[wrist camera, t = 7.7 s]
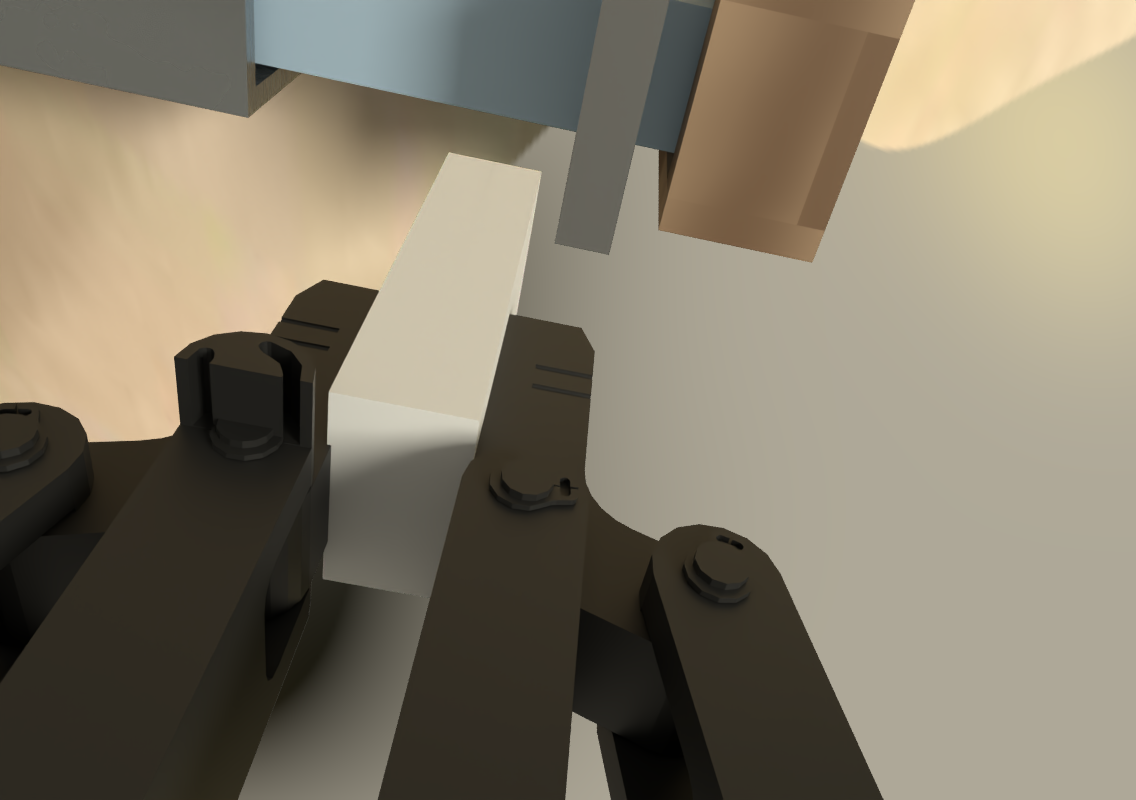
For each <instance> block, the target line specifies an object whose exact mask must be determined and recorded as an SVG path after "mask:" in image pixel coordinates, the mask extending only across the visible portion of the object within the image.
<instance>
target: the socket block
mask: <svg viewBox="0 0 1136 800" xmlns="http://www.w3.org/2000/svg"><path fill="white" fill-rule="evenodd" d="M914 2H915V0H715V2H714V6H713V9H712V13H711V17H710V21H709V24H708V28H707V32H706V36H705V39H704V43H703V47H702V51H701V54H700V58H699V62H698V66H697V69H696V73H695V77H694V81H693V84H692V88H691V92H690V96H689V99H688V103H687V107H686V111H685V114H684V118H683V122H682V126H681V129H680V133H679V137H678V141H677V144H676V148H675V152H674V153H671V152H667V151H662V150H659V230H661V231H665V232H670V233H675V234H679V235H684V236H689V237H694V238H698V239H703V240H708V241H713V242H717V243H722V244H727V245H732V246H736V247H741V248H746V249H750V250H755V251H760V252H765V253H769V254H774V255H779V256H783V257H788V258H793V259H798V260H802V261H807V262H812V261H813V259H814V257H815V254H816V252H817V249H818V246H819V244H820V241H821V239H822V236H823V234H824V231H825V229H826V226H827V224H828V221H829V218H830V216H831V213H832V211H833V208H834V206H835V203H836V201H837V198H838V195H839V193H840V190H841V188H842V185H843V183H844V180H845V178H846V175H847V172H848V170H849V167H850V165H851V162H852V159H853V157H854V155H855V152H856V150H857V147H858V144H859V142H860V139H861V137H862V134H863V132H864V129H865V127H866V124H867V121H868V119H869V116H870V114H871V111H872V109H873V106H874V104H875V101H876V99H877V96H878V93H879V91H880V88H881V86H882V83H883V81H884V78H885V76H886V73H887V70H888V68H889V65H890V63H891V60H892V58H893V55H894V53H895V50H896V48H897V45H898V42H899V40H900V37H901V35H902V32H903V30H904V27H905V25H906V22H907V19H908V17H909V14H910V12H911V9H912V7H913V4H914Z"/></svg>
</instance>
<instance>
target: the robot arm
mask: <svg viewBox="0 0 1136 800" xmlns="http://www.w3.org/2000/svg"><path fill="white" fill-rule="evenodd" d="M541 173H542V172H541V171H537V170H532V169H527V168H522V167H517V166H513V165H508V164H503V163H498V162H493V161H488V160H484V159H479V158H474V157H469V156H464V155H459V154H455V153H450V152H449V153H448V155H447V157H446V159H445V161H444V163H443V165H442V167H441V169H440V171H439V173H438V175H437V177H436V179H435V181H434V183H433V185H432V187H431V189H430V191H429V193H428V195H427V197H426V199H425V201H424V203H423V205H422V207H421V209H420V211H419V213H418V215H417V217H416V219H415V221H414V223H413V225H412V227H411V229H410V231H409V233H408V235H407V237H406V239H405V241H404V243H403V245H402V247H401V249H400V251H399V253H398V255H397V257H396V259H395V261H394V263H393V265H392V267H391V269H390V271H389V273H388V275H387V277H386V279H385V281H384V283H383V285H382V287H381V289H380V291H378V290H373V289H368V288H363V287H358V286H353V285H348V284H343V283H338V282H333V281H328V280H322V281H321V282H319V283H317V284H315V285H314V286H312V287H310V288H308V289H307V290H305V291H303V292H301V293H300V294H298V295H296V296H295V298H294V299H293V301H292V302H291V304H290V305H289V307H288V308H287V310H286V312H285V313H284V315H283V316H282V320H281V322H278V324H277V325H276V327H275V328H274V330H273V331H272V333H271V334H266V333H254V332H242V331H240V332H232V333H224V334H216V335H212V336H209V337H207V338H204V339H201V340H199V341H196V342H193V343H190V344H189V345H188V346H187V347H186V348H184V349H183V350H182V351H181V352H179V353H178V354H177V355H176V356H174V361H175V372H176V382H177V393H178V404H179V414H180V425H179V427H178V428H177V430H176V431H175V433H174V434H173V436H169V437H165V438H161V439H151V440H141V441H115V442H88V439H87V434H86V432H85V430H84V428H83V426H82V425H81V423H80V421H79V419H78V418H76V417H75V416H73V415H71V414H70V413H68V412H66V411H65V410H63V409H61V408H58V407H54V406H49V405H45V404H40V403H35V402H28V403H2V404H0V800H238V798H239V795H240V792H241V790H242V787H243V785H244V782H245V779H246V777H247V774H248V772H249V769H250V767H251V764H252V762H253V759H254V756H255V754H256V751H257V748H258V746H259V744H260V741H261V738H262V736H263V733H264V731H265V728H266V726H267V723H268V720H269V718H270V715H271V713H272V710H273V707H274V705H275V702H276V700H277V697H278V695H279V692H280V690H281V687H282V684H283V682H284V679H285V677H286V674H287V672H288V669H289V666H290V664H291V661H292V658H293V656H294V653H295V651H296V648H297V646H298V643H299V641H300V638H301V636H302V633H303V630H304V628H305V625H306V622H307V620H308V617H309V610H310V603H311V582H312V579H313V576H314V574H315V572H316V569H317V567H318V564H319V562H320V559H321V557H322V554H323V552H324V555H323V556H324V557H323V558H324V559H323V579H327V580H332V581H338V582H343V583H349V584H355V585H360V586H366V587H371V588H376V589H382V590H388V591H394V592H399V593H404V594H410V595H416V596H421V597H427V598H430V601H429V605H428V608H427V612H426V616H425V620H424V624H423V628H422V632H421V635H420V639H419V643H418V647H417V651H416V655H415V659H414V662H413V666H412V670H411V674H410V678H409V682H408V685H407V689H406V693H405V697H404V701H403V705H402V708H401V712H400V716H399V720H398V724H397V728H396V732H395V735H394V739H393V743H392V747H391V751H390V755H389V759H388V763H387V766H386V770H385V774H384V778H383V782H382V786H381V789H380V793H379V797H378V800H565V794H566V782H567V770H568V757H569V744H570V732H571V718H572V711H573V712H575V713H577V714H578V715H580V716H582V717H584V718H586V719H588V720H590V721H592V722H594V723H596V724H597V735H598V739H599V744H600V749H601V754H602V758H603V763H604V768H605V773H606V777H607V782H608V787H609V792H610V797H611V800H883V798H882V796H881V793H880V791H879V789H878V787H877V785H876V782H875V780H874V778H873V776H872V774H871V772H870V769H869V767H868V765H867V763H866V760H865V758H864V756H863V754H862V752H861V749H860V747H859V746H858V743H857V741H856V739H855V736H854V734H853V732H852V730H851V728H850V726H849V723H848V721H847V719H846V717H845V714H844V712H843V710H842V708H841V706H840V703H839V701H838V699H837V697H836V695H835V692H834V690H833V688H832V686H831V684H830V682H829V679H828V677H827V675H826V673H825V671H824V668H823V666H822V664H821V662H820V660H819V657H818V655H817V653H816V651H815V649H814V647H813V644H812V642H811V640H810V638H809V636H808V633H807V631H806V629H805V627H804V625H803V622H802V620H801V618H800V616H799V614H798V611H797V610H796V607H795V605H794V603H793V600H792V598H791V596H790V594H789V592H788V589H787V587H786V585H785V583H784V581H783V578H782V576H781V574H780V573H779V571H778V570H777V568H776V567H775V566H774V564H773V562H772V561H771V560H770V558H769V557H768V555H767V554H766V553H765V552H763V551H762V550H761V549H759V548H758V547H757V546H756V545H755V544H753V543H752V542H751V541H750V540H748V539H747V538H745V537H742V536H740V535H738V534H735V533H733V532H731V531H729V530H726V529H724V528H719V527H713V526H707V525H700V524H698V525H691V526H684V527H678V528H676V529H674V530H672V531H671V532H669V533H668V534H666V535H665V536H663V537H661V538H660V540H659V541H657V540H655V539H653V538H650V537H648V536H646V535H644V534H641V533H639V532H637V531H635V530H632V529H631V528H629V527H627V526H625V525H624V524H622V523H620V522H618V521H616V520H615V519H614V518H612V517H611V516H610V515H609V514H608V513H606V512H605V511H604V510H603V509H601V507H600V506H599V505H598V503H597V502H596V501H595V500H594V499H593V497H592V496H591V494H590V492H589V489H588V487H587V485H586V480H585V459H586V447H587V434H588V423H589V412H590V396H591V388H592V375H593V364H594V350H593V348H592V346H591V344H590V343H589V341H588V339H587V337H586V336H585V334H584V332H583V330H582V328H579V327H573V326H569V325H563V324H558V323H553V322H548V321H543V320H538V319H533V318H528V317H523V316H518V315H516V314H517V309H518V304H519V298H520V292H521V287H522V281H523V275H524V270H525V264H526V258H527V253H528V247H529V241H530V236H531V230H532V225H533V219H534V213H535V208H536V202H537V196H538V191H539V185H540V179H541Z"/></svg>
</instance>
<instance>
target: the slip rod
mask: <svg viewBox="0 0 1136 800" xmlns="http://www.w3.org/2000/svg"><path fill="white" fill-rule="evenodd" d="M714 2H715V0H254V35H255V63H258V64H263V65H267V66H272V67H277V68H281V69H286V70H291V71H295V72H300V73H305V74H309V75H314V76H318V77H323V78H328V79H332V80H337V81H342V82H346V83H351V84H356V85H360V86H365V87H370V88H374V89H379V90H384V91H388V92H393V93H397V94H402V95H407V96H411V97H416V98H421V99H425V100H430V101H435V102H439V103H444V104H449V105H453V106H458V107H462V108H467V109H472V110H476V111H481V112H486V113H490V114H495V115H500V116H504V117H509V118H514V119H518V120H523V121H527V122H532V123H537V124H541V125H546V126H551V127H555V128H560V129H565V130H569V131H574V132H576V137H575V142H574V148H573V152H572V158H571V163H570V168H569V173H568V178H567V183H566V188H565V193H564V198H563V204H562V209H561V214H560V219H559V225H558V229H557V235H556V239H555V244H560V245H565V246H570V247H575V248H579V249H584V250H589V251H593V252H598V253H603V254H608V255H609V252H610V248H611V244H612V240H613V236H614V231H615V227H616V223H617V219H618V214H619V210H620V206H621V202H622V198H623V194H624V189H625V185H626V181H627V177H628V172H629V168H630V164H631V160H632V156H633V152H634V147H635V145H639V146H644V147H648V148H653V149H658V150H662V151H667V152H671V153H674V152H675V148H676V144H677V141H678V137H679V133H680V129H681V126H682V122H683V118H684V114H685V111H686V107H687V103H688V99H689V96H690V92H691V88H692V84H693V81H694V77H695V73H696V69H697V66H698V62H699V58H700V54H701V51H702V47H703V43H704V39H705V36H706V32H707V28H708V24H709V21H710V17H711V13H712V9H713V6H714Z"/></svg>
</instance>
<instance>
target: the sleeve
mask: <svg viewBox="0 0 1136 800" xmlns="http://www.w3.org/2000/svg"><path fill="white" fill-rule="evenodd" d="M0 65H3V66H7V67H12V68H17V69H21V70H26V71H31V72H35V73H40V74H45V75H50V76H54V77H59V78H64V79H68V80H73V81H78V82H82V83H87V84H92V85H97V86H101V87H106V88H111V89H115V90H120V91H125V92H129V93H134V94H139V95H144V96H148V97H153V98H158V99H162V100H167V101H172V102H176V103H181V104H186V105H191V106H195V107H200V108H205V109H209V110H214V111H219V112H223V113H228V114H233V115H238V116H242V117H247V118H249V117H250V116H251V115H252V114H253V113H255V112H256V111H257V110H258V109H259V108H260V107H262V106H263V105H264V104H265V103H266V102H268V101H269V100H270V99H271V98H272V97H273V96H275V95H276V94H277V93H278V92H279V91H281V90H282V89H283V88H284V87H285V86H286V85H288V84H289V83H290V82H291V81H292V80H294V79H295V78H296V77H297V76H298V75H299V74H301V73H300V72H295V71H291V70H286V69H281V68H277V67H272V66H267V65H263V64H258V63H255V35H254V0H0Z"/></svg>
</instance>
